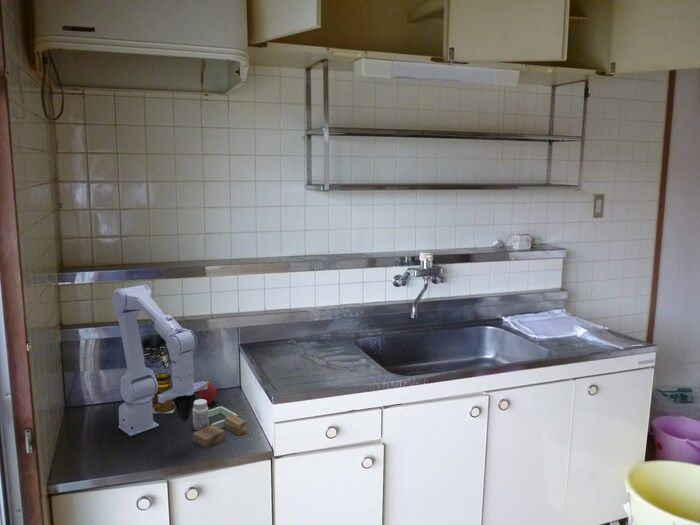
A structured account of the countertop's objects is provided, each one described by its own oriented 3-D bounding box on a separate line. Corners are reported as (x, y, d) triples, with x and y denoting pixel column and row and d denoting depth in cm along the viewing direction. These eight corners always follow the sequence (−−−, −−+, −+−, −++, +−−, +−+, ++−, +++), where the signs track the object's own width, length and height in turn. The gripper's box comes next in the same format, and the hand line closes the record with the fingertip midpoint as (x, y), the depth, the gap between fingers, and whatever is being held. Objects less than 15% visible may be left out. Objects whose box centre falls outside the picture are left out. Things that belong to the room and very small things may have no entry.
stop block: (238, 435, 179) (238, 424, 178) (224, 427, 183) (224, 417, 183) (246, 432, 181) (246, 421, 180) (232, 424, 186) (232, 414, 185)
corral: (213, 430, 181) (212, 424, 181) (195, 420, 188) (195, 414, 187) (238, 421, 188) (238, 415, 188) (221, 411, 195) (221, 405, 194)
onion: (212, 408, 197) (211, 385, 195) (196, 406, 198) (195, 383, 196) (219, 401, 202) (218, 379, 201) (203, 399, 204) (203, 377, 202)
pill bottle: (194, 423, 186) (193, 398, 184) (209, 423, 186) (209, 398, 185) (191, 430, 181) (191, 405, 179) (207, 430, 181) (207, 404, 180)
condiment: (149, 413, 192) (148, 378, 190) (157, 402, 200) (156, 369, 198) (172, 413, 192) (171, 378, 190) (179, 402, 201) (177, 369, 198)
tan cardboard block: (206, 449, 171) (205, 439, 170) (193, 442, 175) (192, 433, 174) (225, 440, 176) (224, 430, 176) (212, 434, 180) (211, 424, 179)
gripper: (166, 384, 157) (168, 432, 160) (213, 371, 168) (214, 415, 170) (153, 377, 162) (155, 423, 165) (199, 364, 173) (200, 408, 175)
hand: (184, 419), depth 168 cm, fingers closed
